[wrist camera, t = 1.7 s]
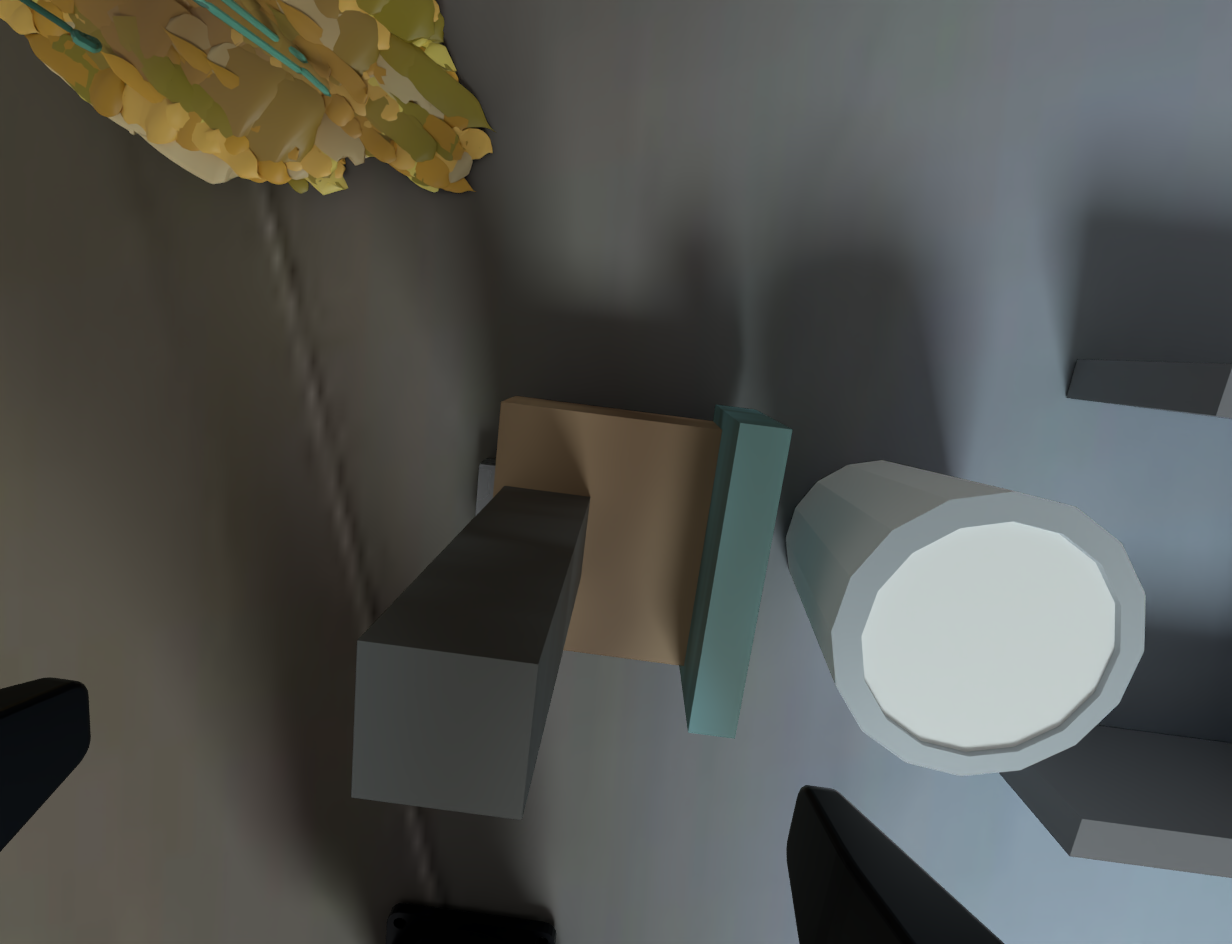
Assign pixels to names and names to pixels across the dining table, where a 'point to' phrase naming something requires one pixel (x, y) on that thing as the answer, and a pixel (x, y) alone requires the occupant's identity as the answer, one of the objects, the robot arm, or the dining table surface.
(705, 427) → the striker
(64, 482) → the dining table surface
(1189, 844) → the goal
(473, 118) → the gold and teal figure
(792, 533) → the white cylinder
